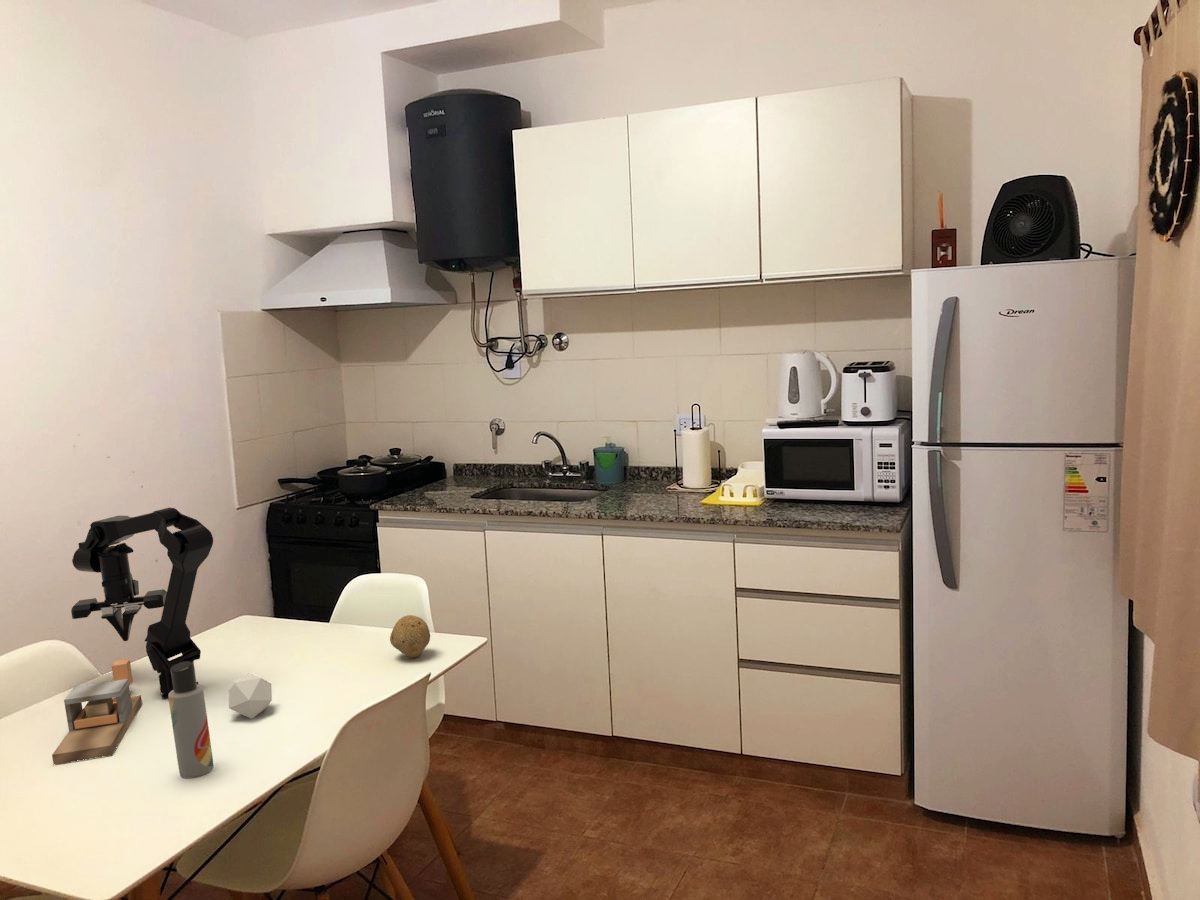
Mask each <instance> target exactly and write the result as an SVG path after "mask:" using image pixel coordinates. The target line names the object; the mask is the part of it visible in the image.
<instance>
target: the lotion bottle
mask: <svg viewBox="0 0 1200 900" xmlns="http://www.w3.org/2000/svg"><path fill="white" fill-rule="evenodd" d="M194 668H195V663H194V664H192V663H191V662H190V661H184V662H180V663H178V664H176V665H173V666H172V667H171V677H172V684H173V690H172V691H171V692H170V693H169V695H168V697H169V698H168V703H169V712H170V719H171V723H172V732H173V739H174V745H175V746H174V747H175V754H176V759H177V766H178V767H177V768H178V772H179V775H180V777H182V778H185V779H192V778H198V777H201V776H205V775H206V774H208V773H210V772H211V771H212V770H213V768H214V758H213V757H214V756H213V751H212V744H211V736H210V729H209V723H208V721H209V720H208V714H207V707H206V699H205V694H204V693H205V692H204V687H203V686H202V685H199V684H198V685H197V683H196V682H197V676H195V675H196V670H195V669H194Z"/></svg>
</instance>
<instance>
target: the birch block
mask: <svg viewBox="0 0 1200 900" xmlns="http://www.w3.org/2000/svg"><path fill="white" fill-rule="evenodd" d="M84 707H85V710H86V717H87V718H92V717H99V716H105V715H112V714H113V713H114V705H113V698H107V699H100V700H93V701H87V702H86V704H85V705H84Z"/></svg>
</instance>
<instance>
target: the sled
mask: <svg viewBox="0 0 1200 900" xmlns="http://www.w3.org/2000/svg"><path fill="white" fill-rule="evenodd" d="M131 666H132V665H131V659H130V658H128V659H119V660H114V662H112V665H111V672H112V673H111V674H112V679H113V680H112V681H117V680H124V679H128V681H129V687H130V686H131V684H132V683H133V681H134V678H133V671H132V667H131ZM113 705H114V713H113V714H112V715H105V716H99V717H92V718H87V717H86V710H85V706H84V707H82V709H83V710H82V711H81V713H80V714H79V715H78V717H77V718H76V719H75V721H74V726H75V729H78V728H85V727H91V726H98V725H104V724H110V723H117V722H118V720H119V714H118V707H117V701H116V697H113Z"/></svg>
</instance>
